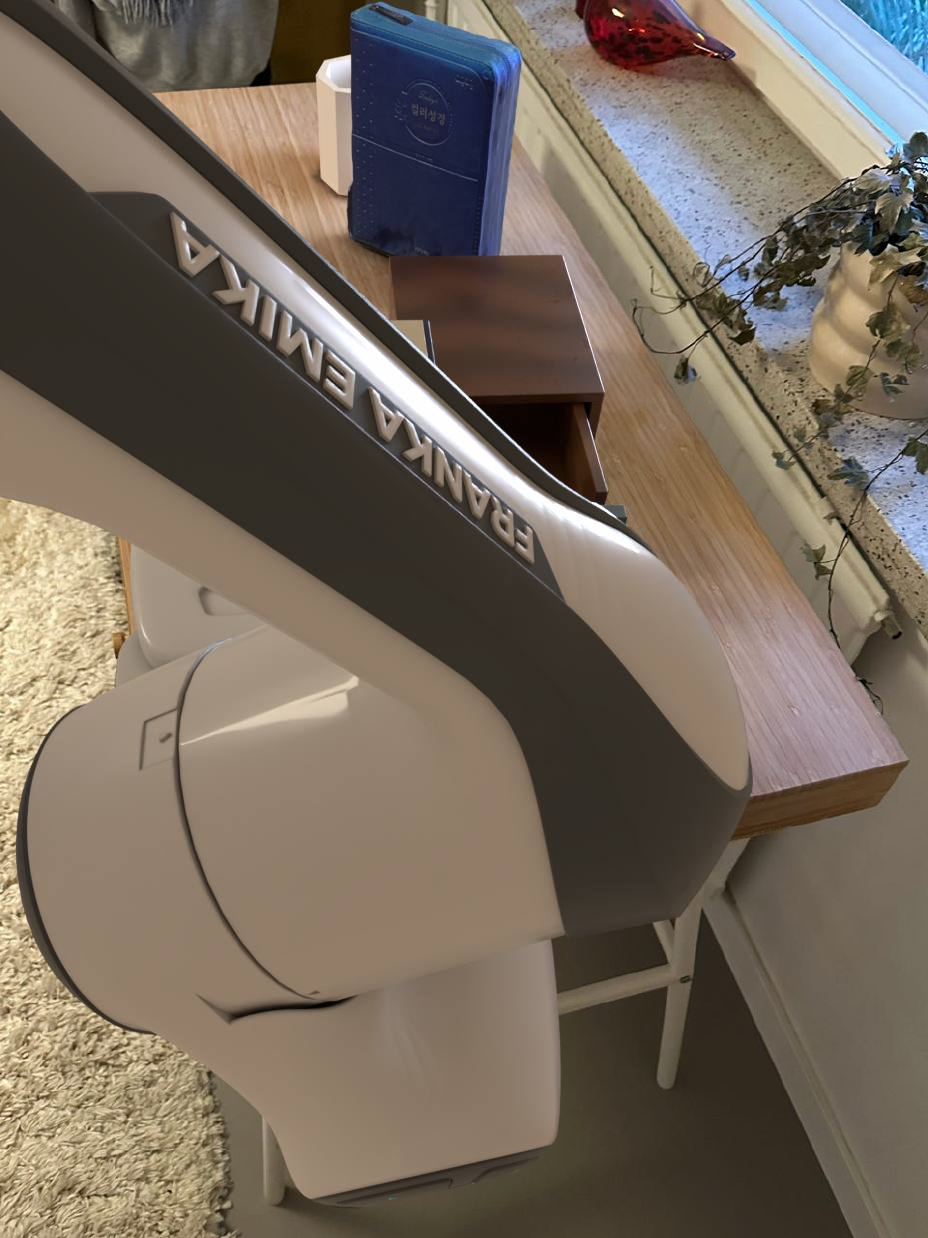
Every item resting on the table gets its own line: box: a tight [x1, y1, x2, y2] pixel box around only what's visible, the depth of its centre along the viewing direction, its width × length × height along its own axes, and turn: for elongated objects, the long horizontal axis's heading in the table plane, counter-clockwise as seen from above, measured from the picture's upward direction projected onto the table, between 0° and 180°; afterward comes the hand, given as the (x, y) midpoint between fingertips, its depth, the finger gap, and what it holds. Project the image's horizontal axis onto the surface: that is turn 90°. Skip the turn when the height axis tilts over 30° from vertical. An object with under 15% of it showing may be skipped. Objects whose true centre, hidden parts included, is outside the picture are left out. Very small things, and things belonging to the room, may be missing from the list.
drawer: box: [477, 402, 628, 525], centre depth 69 cm, size 20×12×7 cm, turn 7°
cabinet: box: [388, 254, 606, 442], centre depth 77 cm, size 17×14×9 cm
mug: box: [315, 54, 353, 197], centre depth 96 cm, size 12×9×10 cm
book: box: [346, 1, 523, 257], centre depth 85 cm, size 14×5×20 cm, turn 60°
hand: (374, 459), depth 47 cm, fingers closed on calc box, 5 cm apart
